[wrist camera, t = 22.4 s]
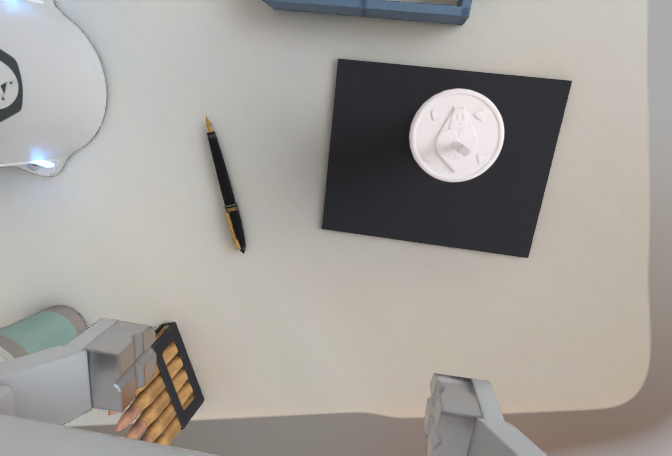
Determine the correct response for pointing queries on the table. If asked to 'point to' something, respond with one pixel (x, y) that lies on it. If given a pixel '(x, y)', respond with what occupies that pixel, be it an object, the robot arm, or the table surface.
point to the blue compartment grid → (381, 9)
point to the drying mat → (418, 186)
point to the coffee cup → (40, 332)
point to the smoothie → (456, 135)
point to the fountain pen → (226, 191)
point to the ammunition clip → (164, 392)
